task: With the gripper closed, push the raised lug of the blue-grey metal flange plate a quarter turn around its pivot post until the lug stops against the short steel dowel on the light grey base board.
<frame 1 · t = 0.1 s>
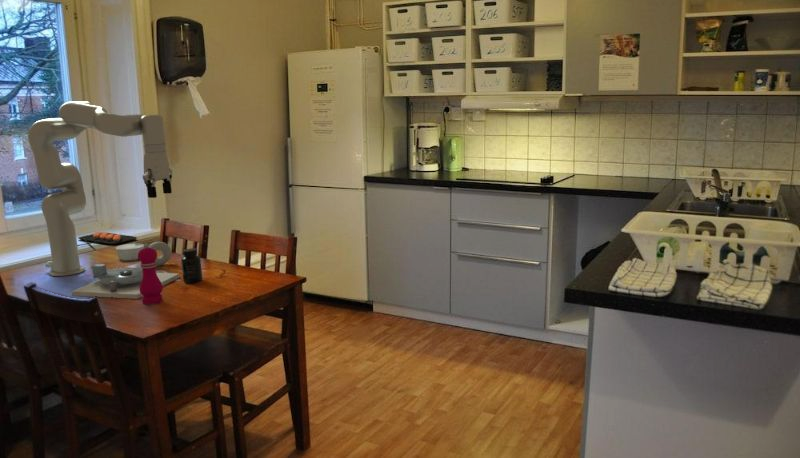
hand: (160, 195, 244), 31 cm above the table, tool pointing down, fingers open, 9 cm apart
sushi plate: (93, 245, 311), on the table
ramekin: (131, 258, 281), on the table
pepper mill: (152, 302, 220), on the table
steel dowel: (114, 295, 228), resting on base board
flange plate: (121, 272, 238), point 5 cm above the table, hinge at 0.0°
base board: (127, 286, 239), on the table
supplement bottle: (193, 281, 243), on the table
donut: (159, 266, 267), on the table
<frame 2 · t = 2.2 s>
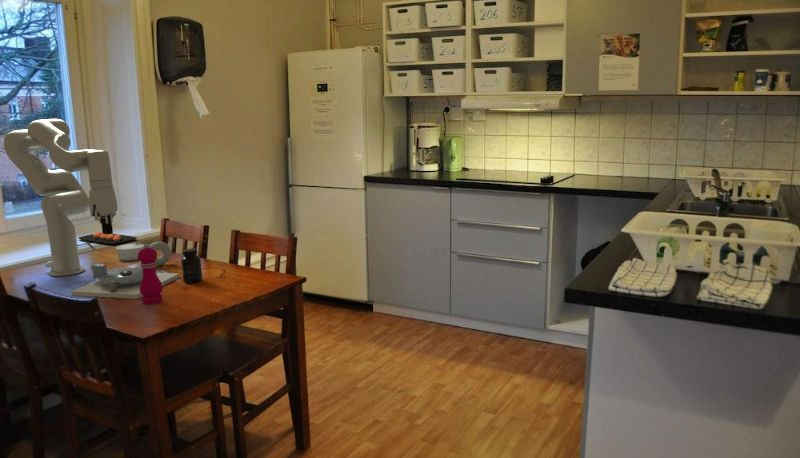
hand: (107, 233, 244), 18 cm above the table, tool pointing down, fingers closed
nothing on the table moved.
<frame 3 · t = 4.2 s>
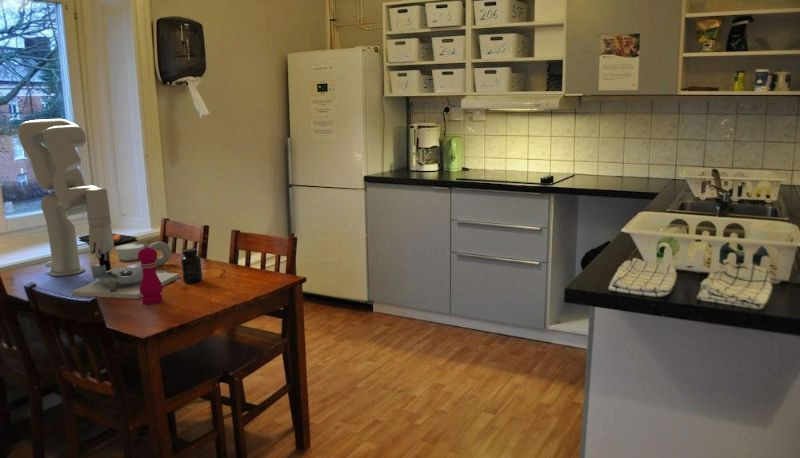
hand: (105, 270, 244), 5 cm above the table, tool pointing down, fingers closed
flange plate: (121, 272, 238), point 5 cm above the table, hinge at 1.0°, touching gripper
everything else where it was.
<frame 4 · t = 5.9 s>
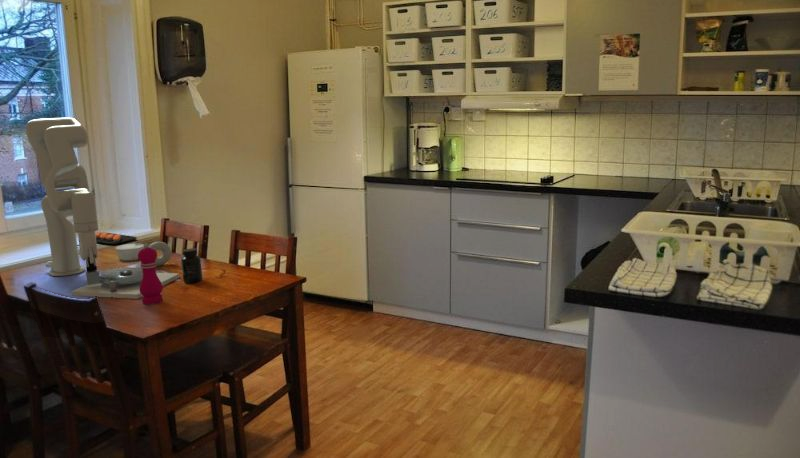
hand: (92, 276, 235), 5 cm above the table, tool pointing down, fingers closed
flange plate: (120, 273, 237), point 5 cm above the table, hinge at 44.9°, touching gripper
everything else where it was.
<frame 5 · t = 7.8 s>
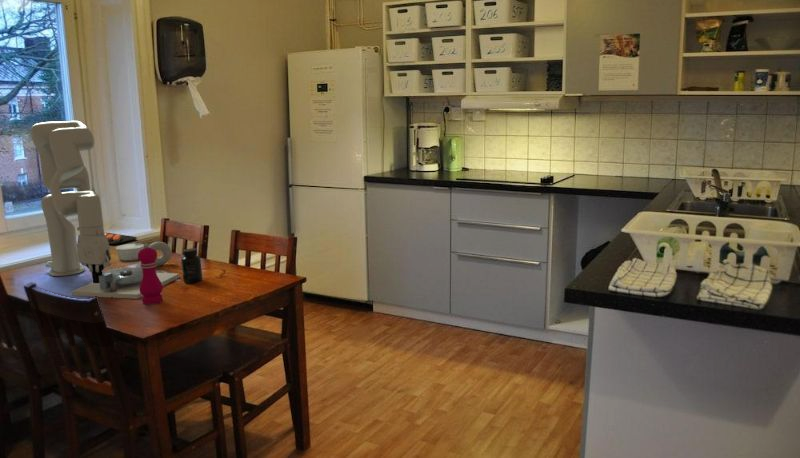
hand: (98, 282, 229), 5 cm above the table, tool pointing down, fingers closed
flange plate: (122, 273, 236), point 5 cm above the table, hinge at 89.8°, touching gripper, steel dowel
everything else where it was.
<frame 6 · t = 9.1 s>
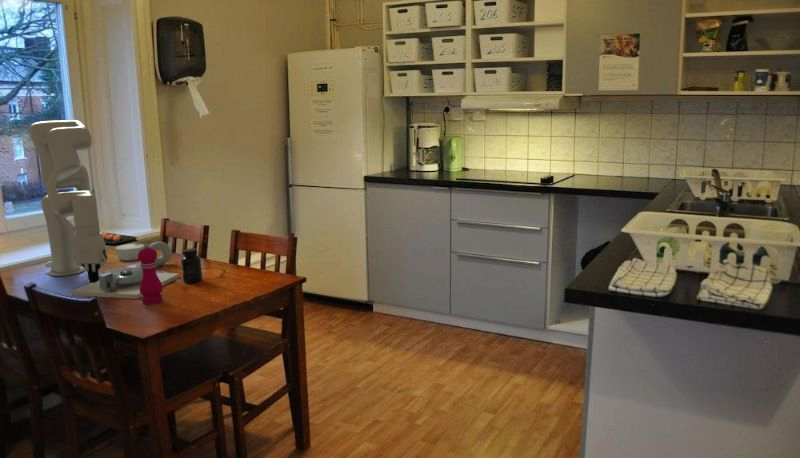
hand: (94, 281, 229), 5 cm above the table, tool pointing down, fingers closed
flange plate: (122, 273, 236), point 5 cm above the table, hinge at 89.8°, touching steel dowel
everything else where it was.
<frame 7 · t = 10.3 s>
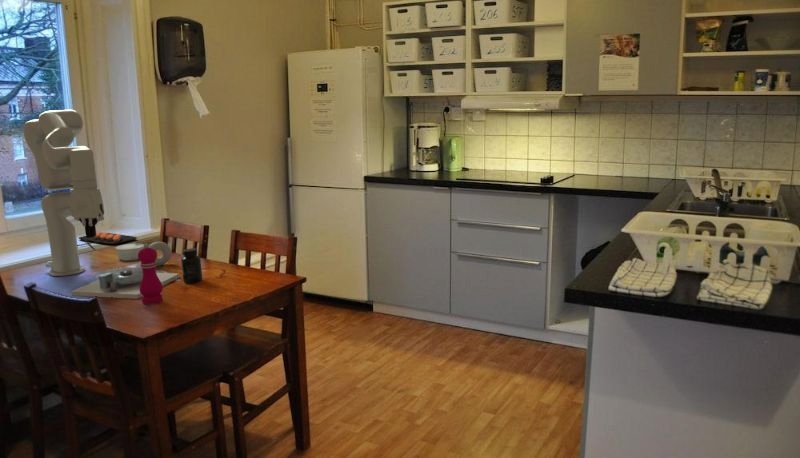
hand: (91, 236, 229), 20 cm above the table, tool pointing down, fingers closed
nothing on the table moved.
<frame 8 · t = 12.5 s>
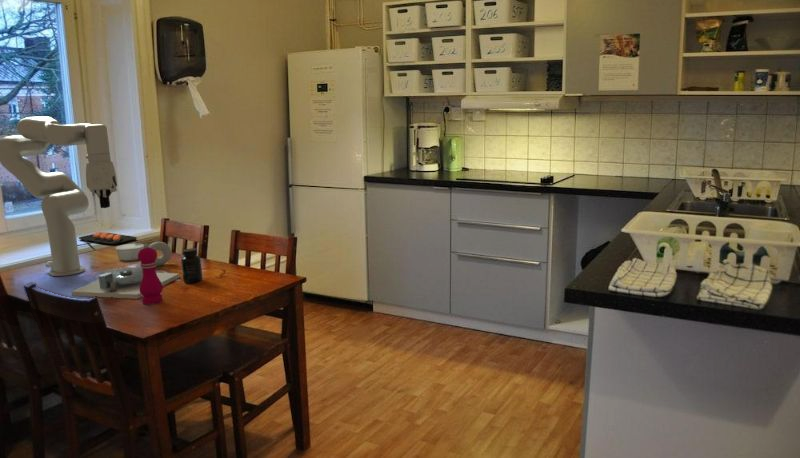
hand: (105, 207, 246), 27 cm above the table, tool pointing down, fingers closed
nothing on the table moved.
at the end: flange plate at +90° (first picture: +0°) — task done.
